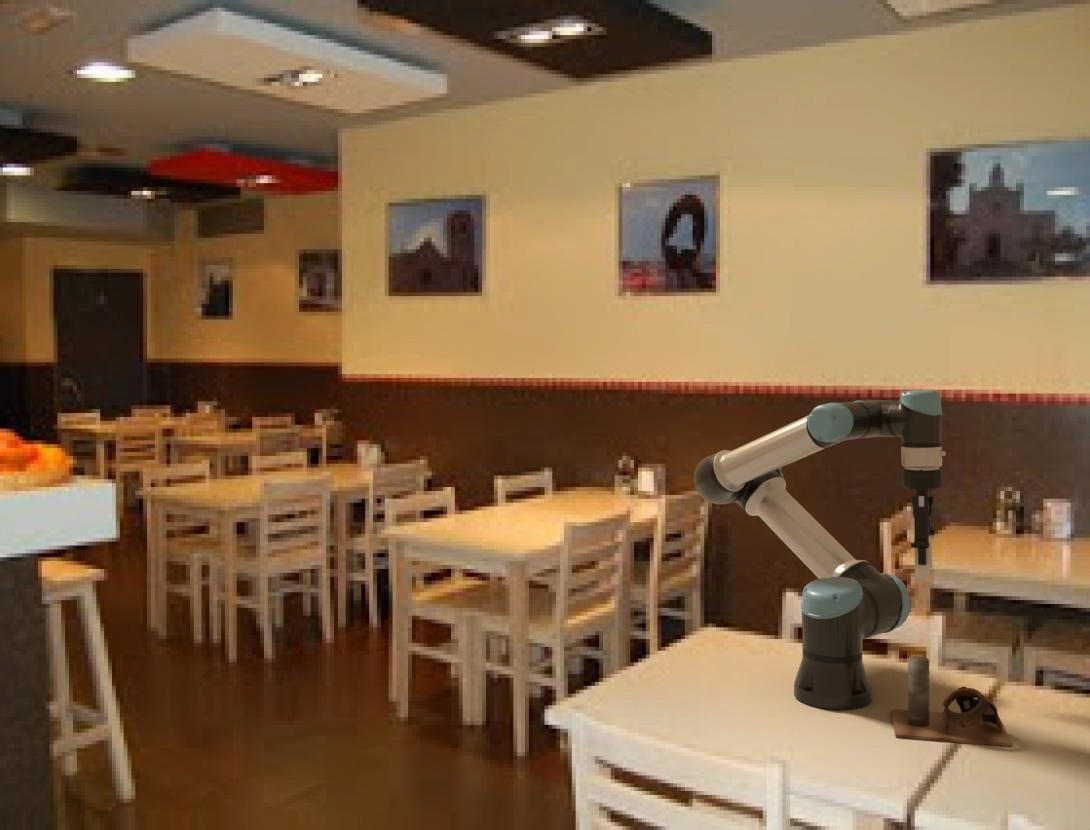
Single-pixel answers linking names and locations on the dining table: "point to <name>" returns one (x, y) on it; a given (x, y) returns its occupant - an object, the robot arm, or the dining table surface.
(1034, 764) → the dining table surface
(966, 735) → the brown board with post
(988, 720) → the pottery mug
